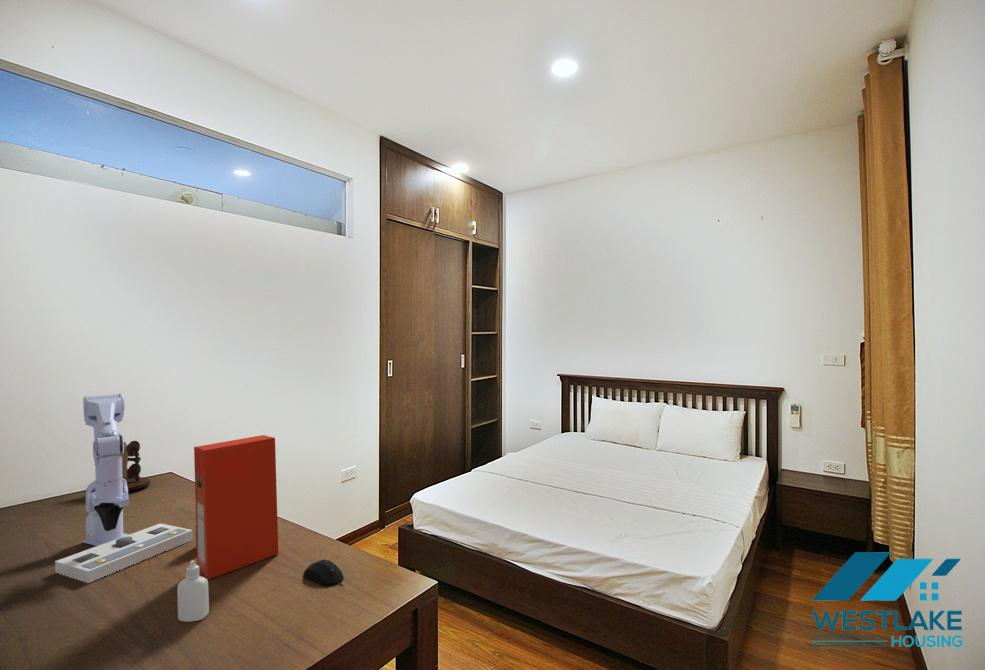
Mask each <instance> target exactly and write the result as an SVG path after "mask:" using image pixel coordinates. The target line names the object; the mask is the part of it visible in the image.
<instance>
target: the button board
mask: <svg viewBox="0 0 985 670" xmlns="http://www.w3.org/2000/svg"><path fill="white" fill-rule="evenodd" d="M160 528H165V531H164V532H161V533H159V534H156V535H153V534H151V531H153V530H156V529H160ZM128 534H129V535H127V536H124V537H129V536H130V537H132V544H130V545H127V546H124V547H122V548H118V547H116V540H118V539H120V538H118V539H116V540H113V541H110V542H107V543H104V544H102V545H99V546H93V547H91V548H88V549H85V550H83V551H80V552H77V553H74V554H72V555H68V556H67V557H64V558H61V559H60V558H59V559H57V560H55V561H54V569H55V572H56V573H55V572H54V573H55V574H57V573H59V574H58V575H61V574H62V575H61V576H64V575H65V576H64V577H67V576H68V577H67V578H71V579H73V578H74V580H76V579H77V581H79V580H80V581H79V582H82V581H83V583H85V582H86V584H88V583H89V584H91V583H94V582H95V580H96V581H98V580H100V578H101V579H103V578H105V577H104V576H106V577H107V575H108V576H110V575H113V574H115V573H117V572H116V571H118V572H120V571H122V570H124V568H125V569H127V568H129V567H128V566H130V567H132V566H134V565H136V563H137V564H138V563H141V561H142V562H144V561H146V560H149V559H151V558H154V557H156V556H158V555H160V553H161V554H163V553H165V552H164V551H166V552H168V551H170V550H173V549H175V548H177V547H179V546H182V545H184V544H187V543H190V542H192V541H194V539H193V529H190V528H184V527H180V526H175V525H170V524H166V523H157V524H154V525H152V526H150V527H146V528H144V529H141V530H138V531H136V532H132V533H128ZM121 538H123V537H121ZM162 552H163V553H162ZM91 554H93V555H95V558H92V559H90V560H87V561H85V562H82V563H78V562H77V559H78V558H80V557H82V556H85V555H91ZM157 554H158V555H157ZM155 555H156V556H155ZM153 556H154V557H153ZM150 557H151V558H150ZM148 558H149V559H148ZM145 559H146V560H145ZM143 560H144V561H143ZM133 564H134V565H133ZM131 565H132V566H131ZM126 567H127V568H126ZM119 570H120V571H119ZM114 572H115V573H114ZM112 573H113V574H112ZM109 574H110V575H109ZM102 577H103V578H102ZM97 579H98V580H97ZM93 581H94V582H93ZM90 582H91V583H90Z"/></svg>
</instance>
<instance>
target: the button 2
mask: <svg viewBox="0 0 985 670" xmlns="http://www.w3.org/2000/svg"><path fill="white" fill-rule="evenodd" d="M164 531H165V528H160V529H156V530H153V531H151V534H153V535H156V534H159V533H161V532H164Z"/></svg>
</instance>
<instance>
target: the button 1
mask: <svg viewBox="0 0 985 670" xmlns="http://www.w3.org/2000/svg"><path fill="white" fill-rule="evenodd" d="M92 558H95V555H93V554H91V555H85V556H82V557H80V558H78V559H77V562H78V563H82V562H85V561H87V560H90V559H92Z"/></svg>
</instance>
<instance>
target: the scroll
mask: <svg viewBox="0 0 985 670" xmlns="http://www.w3.org/2000/svg"><path fill="white" fill-rule="evenodd" d="M140 448H141V445H140V442H139V441H137V440H131V441H130V442H129V443H128V444H127V443H126V442H125V441H124V453H123V455H122V453H121V452H120V455H121V456H122V478H123V479H125V480H126V481H127V487H128V493H129V491H133V490H138V489H140V488H145V487H150V484H151V479H150V478H146V477H143V476H140V474H141V470H142V467H141V465H140V462H141V457H140V453H139V452H140ZM129 462H134V463H132V464H131V465H130V466H129V467H128V463H129Z"/></svg>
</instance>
